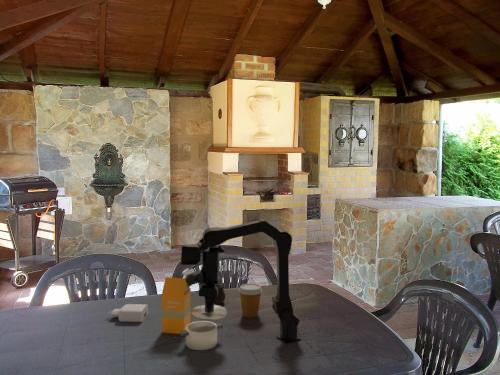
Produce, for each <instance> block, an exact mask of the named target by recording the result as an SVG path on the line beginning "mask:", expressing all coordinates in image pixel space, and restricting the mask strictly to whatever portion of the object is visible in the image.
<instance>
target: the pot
mask: <svg viewBox="0 0 500 375" xmlns="http://www.w3.org/2000/svg"><path fill="white" fill-rule="evenodd" d="M223 328H224V325H223V324H222V323H221V322H218V323H215V322H213V321H211V320H196V321H192V322H191V323H189V324H188V325H187V326H186V330H184V331H179V334H178V335H180V337H183V338H184V337H185V346H186V347H187V349H191V350H196V351H205V350H210V349H213V348H214V347H216V346H217V345H218V329H223Z"/></svg>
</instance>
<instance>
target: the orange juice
mask: <svg viewBox="0 0 500 375" xmlns="http://www.w3.org/2000/svg"><path fill="white" fill-rule="evenodd" d="M191 291H192V290H191V286H188V285H187V283H186V279H185V277H184V278H182V277H169V276H167V277H166V276H165V277H164V283H163V287H162V292H161V333H163V334H165V333H166V334H175V335H176V334H177V335H180V334H179V331H184V330H186V326H187V325H188V324H189V323H192V322H191V316H192V314H191V311H192V308H191V307H192V305H191V304H192V303H191Z"/></svg>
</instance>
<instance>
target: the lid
mask: <svg viewBox="0 0 500 375" xmlns="http://www.w3.org/2000/svg"><path fill="white" fill-rule="evenodd" d="M227 314H228V310H227V308H226V307H224V306H221V305H219V304H214V303H213V306H212V308H211V310H207V306H206V301H205V300H204V304H203V305H197V306H194V307H193V308H191V316H192V317H194V318H195V319H197V320H198V319H199V320H201V321H214V320H220V319H223V318H225V317H226V316H227Z"/></svg>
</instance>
